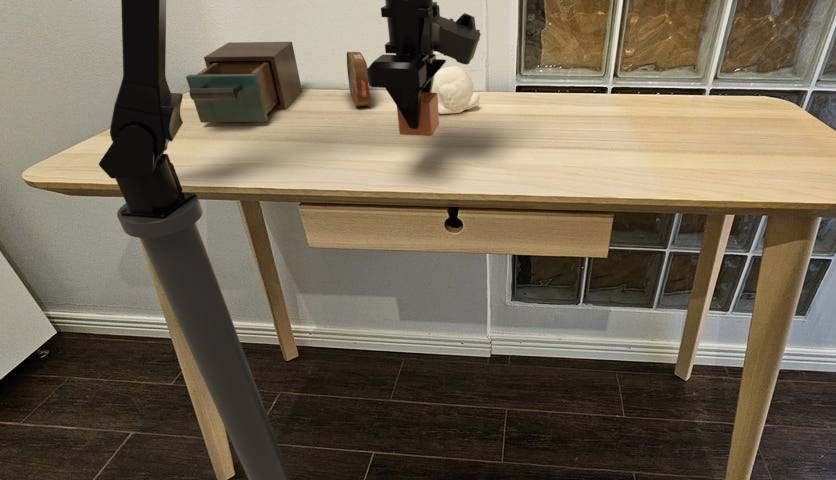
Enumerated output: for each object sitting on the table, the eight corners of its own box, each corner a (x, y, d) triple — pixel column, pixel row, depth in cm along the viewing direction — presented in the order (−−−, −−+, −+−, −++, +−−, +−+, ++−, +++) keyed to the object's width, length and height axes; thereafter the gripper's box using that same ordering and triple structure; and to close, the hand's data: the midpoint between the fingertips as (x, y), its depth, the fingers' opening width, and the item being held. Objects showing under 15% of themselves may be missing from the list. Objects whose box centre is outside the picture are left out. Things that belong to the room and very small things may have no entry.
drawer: (256, 131, 89) (244, 83, 85) (188, 132, 89) (172, 84, 85) (283, 102, 101) (273, 59, 97) (223, 103, 101) (211, 60, 97)
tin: (349, 90, 110) (342, 46, 106) (364, 88, 111) (358, 45, 106) (357, 113, 99) (350, 65, 94) (374, 111, 99) (368, 64, 95)
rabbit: (411, 115, 97) (405, 45, 90) (421, 99, 105) (416, 33, 98) (477, 116, 96) (476, 45, 89) (482, 100, 104) (482, 34, 97)
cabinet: (285, 109, 101) (273, 56, 95) (219, 110, 101) (203, 57, 95) (302, 91, 110) (292, 41, 105) (241, 91, 110) (228, 42, 105)
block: (431, 136, 72) (429, 103, 69) (399, 134, 73) (396, 101, 70) (439, 124, 75) (437, 92, 73) (408, 123, 76) (405, 91, 74)
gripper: (458, 10, 56) (463, 152, 65) (486, -15, 71) (487, 103, 80) (356, 8, 57) (375, 147, 66) (405, -16, 72) (415, 100, 81)
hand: (418, 122), depth 73 cm, fingers closed on block, 4 cm apart
